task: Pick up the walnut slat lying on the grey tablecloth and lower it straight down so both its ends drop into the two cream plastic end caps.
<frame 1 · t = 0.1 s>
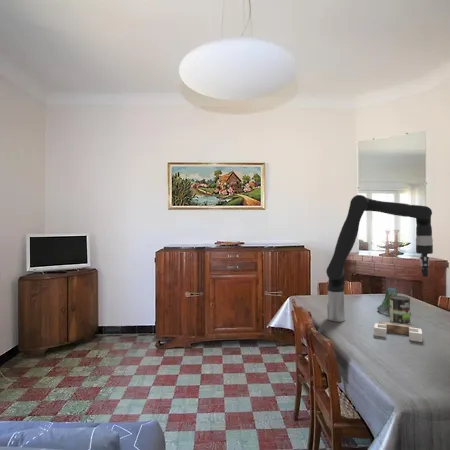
hand: (424, 275, 166), 29 cm above the table, fingers open, 8 cm apart
coffee can: (400, 322, 180), on the table
end caps: (397, 336, 159), on the table
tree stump: (393, 312, 200), on the table
slat: (395, 332, 166), on the table
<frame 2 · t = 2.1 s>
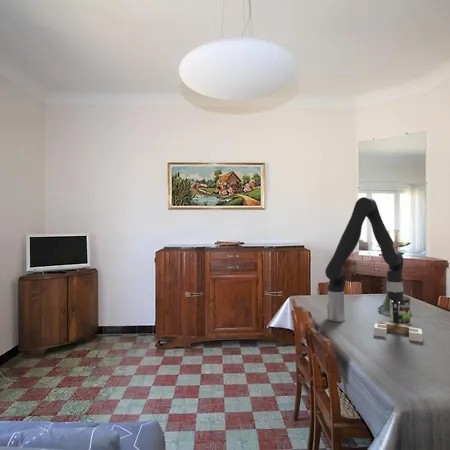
hand: (396, 321, 165), 6 cm above the table, fingers open, 8 cm apart
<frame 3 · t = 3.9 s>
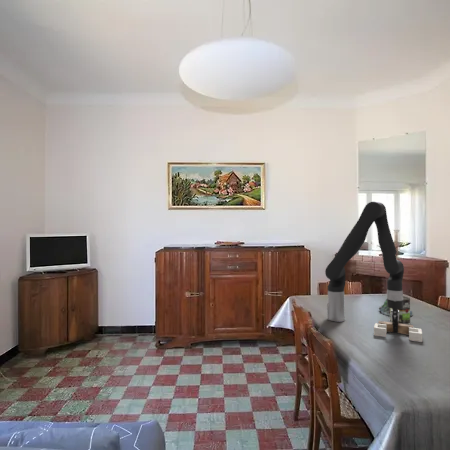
hand: (395, 331, 166), 0 cm above the table, fingers closed on slat, 3 cm apart
slat: (395, 331, 166), on the table, touching gripper
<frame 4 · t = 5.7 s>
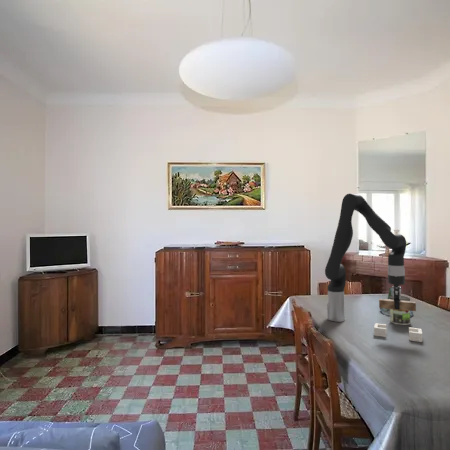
hand: (397, 308, 159), 14 cm above the table, fingers closed on slat, 3 cm apart
slat: (397, 308, 159), point 14 cm above the table, touching gripper
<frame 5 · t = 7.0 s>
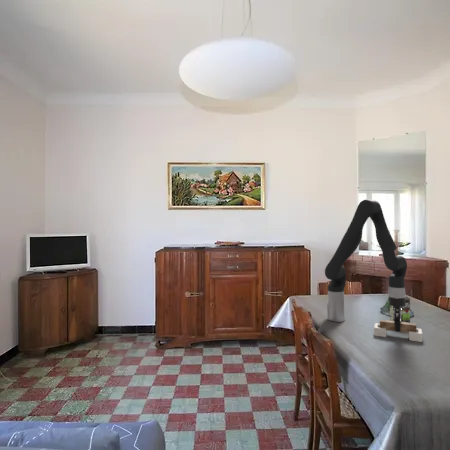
hand: (397, 329, 159), 3 cm above the table, fingers closed on slat, 3 cm apart
slat: (397, 330, 159), point 3 cm above the table, touching gripper
when the fingers open (2 cm above the table, at t = 8.0 s): slat drops 2 cm, on the table.
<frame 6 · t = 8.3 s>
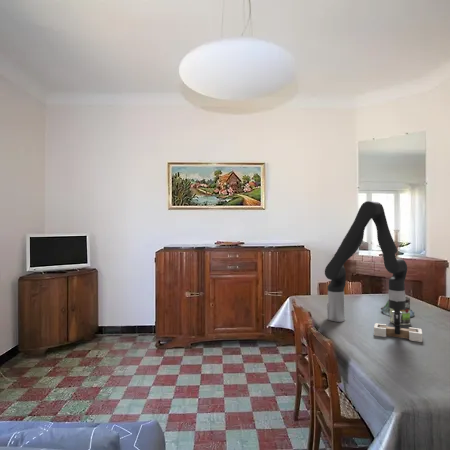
hand: (397, 331, 159), 2 cm above the table, fingers open, 6 cm apart
slat: (397, 336, 159), on the table
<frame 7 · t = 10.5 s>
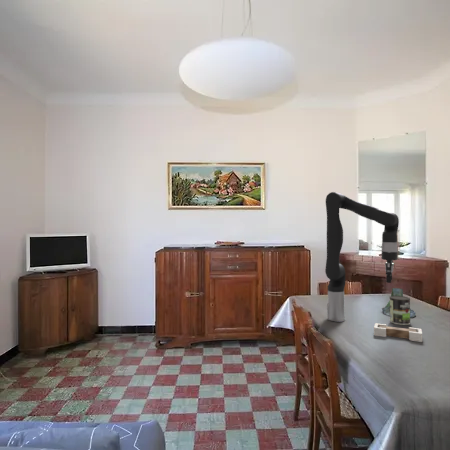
hand: (389, 281, 168), 26 cm above the table, fingers open, 8 cm apart
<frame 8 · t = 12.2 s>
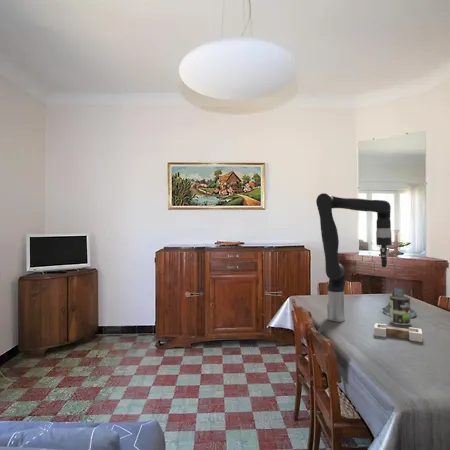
hand: (384, 265, 175), 33 cm above the table, fingers open, 8 cm apart
at the end: slat 0.1 cm off-centre on the end caps, point 0.0 cm above the end caps's base; slat tilted 0°; the gripper is holding nothing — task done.
